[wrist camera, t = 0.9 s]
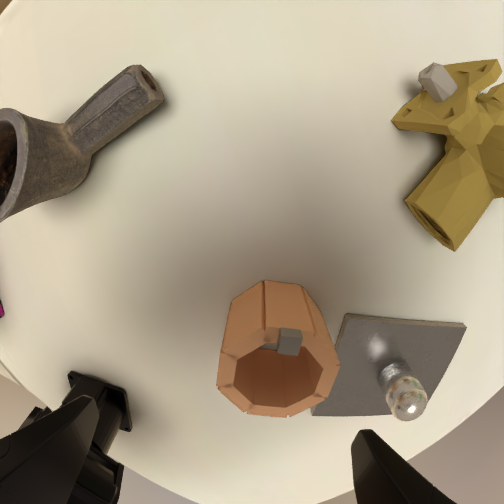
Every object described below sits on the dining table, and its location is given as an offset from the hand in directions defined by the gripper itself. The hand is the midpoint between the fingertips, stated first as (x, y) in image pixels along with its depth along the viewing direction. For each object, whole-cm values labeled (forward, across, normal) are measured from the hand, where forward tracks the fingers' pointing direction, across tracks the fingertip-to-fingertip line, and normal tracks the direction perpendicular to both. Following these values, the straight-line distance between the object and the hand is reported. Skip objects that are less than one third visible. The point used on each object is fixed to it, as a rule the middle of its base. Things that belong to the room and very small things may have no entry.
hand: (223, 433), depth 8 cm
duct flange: (+12, -13, +6) cm, 19 cm away
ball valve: (+12, -13, -13) cm, 22 cm away
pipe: (+12, +12, -9) cm, 20 cm away
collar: (+12, -2, +2) cm, 13 cm away
